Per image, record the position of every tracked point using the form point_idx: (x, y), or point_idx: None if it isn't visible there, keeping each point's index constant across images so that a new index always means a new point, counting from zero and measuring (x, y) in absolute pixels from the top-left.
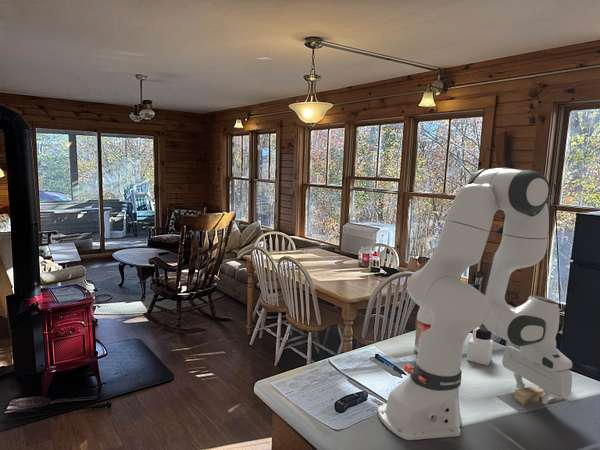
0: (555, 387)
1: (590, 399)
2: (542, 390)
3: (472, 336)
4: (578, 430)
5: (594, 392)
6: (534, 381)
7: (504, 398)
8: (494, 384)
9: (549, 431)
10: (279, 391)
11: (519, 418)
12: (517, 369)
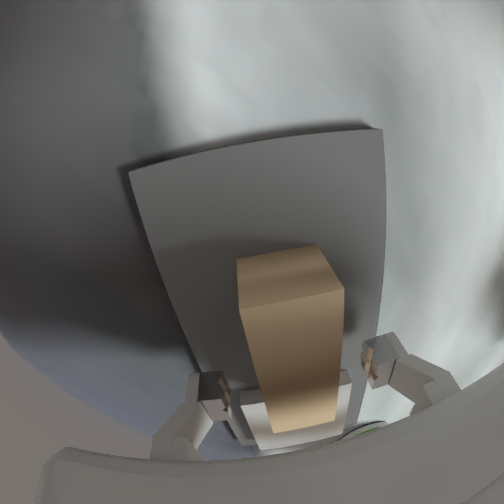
0: (70, 500)
1: None
2: (277, 430)
3: None
4: (56, 359)
5: None
6: (261, 478)
7: (342, 175)
8: (468, 246)
9: (13, 238)
10: None
11: (101, 131)
12: (460, 435)
